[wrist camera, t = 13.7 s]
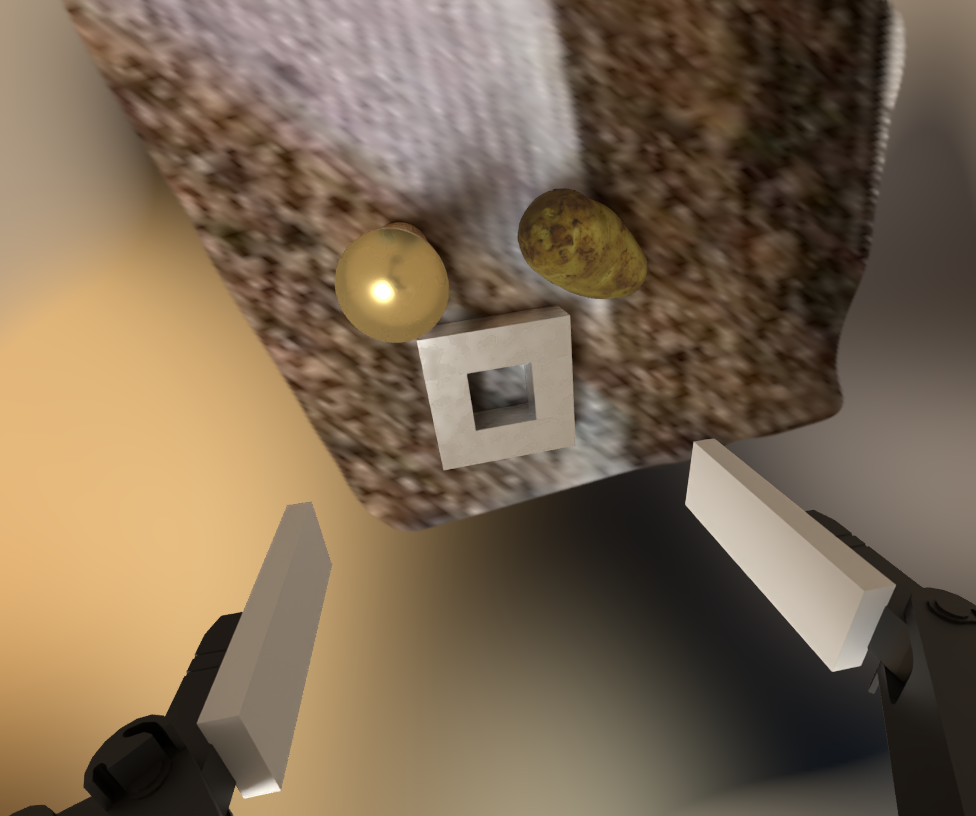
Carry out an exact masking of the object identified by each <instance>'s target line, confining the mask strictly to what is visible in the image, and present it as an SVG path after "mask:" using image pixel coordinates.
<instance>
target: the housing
mask: <svg viewBox="0 0 976 816" xmlns="http://www.w3.org/2000/svg"><path fill="white" fill-rule="evenodd" d="M417 344H418V349H419V354H420V359H421V363H422V368H423V373H424V378H425V383H426V387H427V392H428V397H429V402H430V407H431V411H432V416H433V421H434V426H435V431H436V435H437V440H438V445H439V450H440V455H441V459H442V464H443V469H444V470H447V469H453V468H458V467H463V466H469V465H474V464H479V463H485V462H490V461H495V460H501V459H506V458H511V457H517V456H522V455H527V454H533V453H538V452H543V451H549V450H554V449H559V448H565V447H570V446H575V421H574V397H573V373H572V349H571V325H570V315H569V314H568V313H567V312H565V311H564V310H563V309H562V308H561V307H559V306H558V305H555V306H549V307H543V308H537V309H530V310H524V311H518V312H512V313H506V314H500V315H494V316H488V317H482V318H476V319H470V320H463V321H457V322H451V323H445V324H439V325H435V326H434V327H433V328H432V329H431V330H430V331H429V332H427V333H426V334H424V335H422V336H421V337H419V338H417ZM520 364H524V369H525V379H526V390H527V400H528V403H523V404H518V405H512V406H507V407H501V408H495V409H490V410H484V411H479V412H473V410H472V404H471V397H470V391H469V385H468V379H467V374H468V373H474V372H479V371H485V370H491V369H497V368H503V367H508V366H514V365H520Z"/></svg>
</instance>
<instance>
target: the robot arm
mask: <svg viewBox="0 0 976 816" xmlns="http://www.w3.org/2000/svg"><path fill="white" fill-rule="evenodd" d="M685 505H686V506H687V507H688V508H689V509H690V510H691V512H692V513H693V514H694V515H695V516H696V517H697V518H698V520H699V521H700V522H701V523H702V524H703V525H704V526H705V527H706V529H707V530H708V531H709V532H710V533H711V534H712V535H713V537H714V538H715V539H716V540H717V541H718V542H719V543H720V545H721V546H722V547H723V548H724V549H725V550H726V551H727V552H728V554H729V555H730V556H731V557H732V558H733V559H734V560H735V562H736V563H737V564H738V565H739V566H740V567H741V568H742V570H743V571H744V572H745V573H746V574H747V575H748V576H749V577H750V579H751V580H752V581H753V582H754V583H755V584H756V585H757V587H758V588H759V589H760V590H761V591H762V592H763V593H764V595H765V596H766V597H767V598H768V599H769V600H770V601H771V603H772V604H773V605H774V606H775V607H776V608H777V609H778V610H779V612H780V613H781V614H782V615H783V616H784V617H785V618H786V619H787V621H788V622H789V623H790V624H791V625H792V626H793V628H794V629H795V630H796V631H797V632H798V633H799V634H800V635H801V637H802V638H803V639H804V640H805V641H806V642H807V643H808V645H809V646H810V647H811V648H812V649H813V650H814V651H815V652H816V654H817V655H818V656H819V657H820V658H821V659H822V660H823V662H824V663H825V664H826V665H827V666H828V667H829V668H830V670H831V671H833V672H834V671H838V670H843V669H847V668H852V667H857V666H861V664H862V661H863V659H864V657H865V655H866V652H867V650H868V649H869V650H870V651H871V652H872V653H873V654H874V655H875V656H876V657H877V658H878V659H879V660H880V663H879V665H878V667H877V669H876V671H875V674H874V676H873V678H872V680H871V682H870V685H869V690H868V692H870V693H873V694H874V693H875V691H876V689H877V686H879V687H880V693H881V700H882V706H883V714H884V720H885V728H886V734H887V740H888V747H889V755H890V761H891V768H892V774H893V782H894V788H895V795H896V802H897V809H898V815H899V816H976V606H975V605H974V604H973V603H971V602H969V601H968V600H966V599H964V598H962V597H960V596H958V595H955V594H953V593H950V592H948V591H945V590H940V589H935V588H923V587H921V586H920V585H918V584H917V583H916V582H915V581H913V580H912V579H911V578H909V577H908V576H907V575H905V574H904V573H903V572H902V571H900V570H899V569H898V568H896V567H895V566H894V565H892V564H891V563H890V562H889V561H887V560H886V559H885V558H883V557H882V556H881V555H879V554H878V553H877V552H876V551H874V550H873V549H872V548H870V547H869V546H868V547H867V546H866V545H865V543H864V542H863V541H861V540H860V539H859V538H857V537H856V536H852V534H851V532H849V531H848V530H847V529H846V528H844V527H843V526H842V525H840V524H839V523H838V522H836V521H835V520H833V519H831V518H829V517H827V516H825V515H823V514H821V513H819V512H817V511H815V510H810V511H804V510H802V509H801V508H800V507H798V506H797V505H796V504H795V503H794V502H792V501H791V500H790V499H789V498H787V497H786V496H785V495H784V494H782V493H781V492H780V491H779V490H777V489H776V488H775V487H773V485H771V484H770V483H769V482H768V481H766V480H765V479H764V478H763V477H761V476H760V475H759V474H758V473H756V472H755V471H754V470H753V469H751V468H750V467H749V466H748V465H746V464H745V463H744V462H743V461H741V460H740V459H739V458H738V457H736V456H735V455H734V454H733V453H732V452H730V451H729V450H728V449H726V448H725V447H724V446H723V445H722V444H720V443H719V442H718V441H717V440H715V439H708V440H702V441H696V442H694V445H693V452H692V459H691V467H690V474H689V482H688V489H687V496H686V503H685ZM331 566H332V563H331V561H330V557H329V554H328V551H327V548H326V545H325V542H324V539H323V536H322V533H321V529H320V526H319V523H318V520H317V517H316V514H315V511H314V508H313V504H312V502H306V503H299V504H293V505H287V507H286V510H285V512H284V514H283V517H282V519H281V522H280V524H279V526H278V529H277V531H276V534H275V536H274V538H273V541H272V543H271V546H270V548H269V551H268V553H267V555H266V558H265V560H264V563H263V565H262V567H261V570H260V572H259V575H258V577H257V580H256V582H255V584H254V587H253V589H252V591H251V594H250V596H249V599H248V601H247V603H246V606H245V608H244V611H243V612H240V613H234V614H228V615H223V616H221V617H220V618H219V619H218V620H217V621H216V622H215V623H214V624H213V626H212V627H211V628H210V629H209V630H208V631H207V633H206V634H205V635H204V637H203V639H202V641H201V643H200V645H199V647H198V649H197V651H196V654H195V659H193V660H192V662H191V664H190V666H189V668H188V670H187V675H186V676H184V678H183V680H182V682H181V684H180V687H179V689H178V691H177V693H176V695H175V697H174V699H173V701H172V703H171V705H170V708H169V710H168V712H167V714H166V716H165V717H164V716H162V715H148V716H145V717H142V718H138V719H136V720H134V721H133V722H131V723H129V724H127V725H125V726H124V727H122V728H120V729H119V730H118V731H117V732H116V733H115V734H114V735H112V736H111V737H110V738H109V739H107V740H106V741H105V742H104V744H103V745H102V746H101V747H100V748H99V750H98V751H97V752H96V753H95V755H94V756H93V757H92V759H91V761H90V763H89V765H88V768H87V770H86V772H85V775H84V788H85V789H86V790H87V791H88V793H89V794H90V795H91V797H89V798H87V799H85V800H83V801H81V802H79V803H77V804H75V805H73V806H72V807H69V808H67V809H65V810H63V811H62V812H60V813H58V814H55V813H54V812H53V811H52V810H51V809H50V808H48V807H47V806H45V805H35V806H29V807H27V808H24V809H22V810H20V811H17V812H15V813H13V814H12V815H10V816H233V814H232V812H231V811H230V809H229V805H230V801H231V798H232V795H233V792H234V788H235V785H236V786H237V788H238V790H239V791H240V793H241V794H242V796H243V798H249V797H254V796H258V795H263V794H267V793H272V792H277V791H281V788H282V783H283V779H284V774H285V770H286V766H287V761H288V757H289V752H290V748H291V743H292V739H293V734H294V730H295V726H296V721H297V717H298V712H299V708H300V704H301V699H302V695H303V690H304V686H305V681H306V677H307V673H308V668H309V664H310V659H311V655H312V651H313V646H314V641H315V637H316V633H317V628H318V624H319V620H320V615H321V611H322V606H323V602H324V597H325V593H326V589H327V584H328V580H329V575H330V571H331Z"/></svg>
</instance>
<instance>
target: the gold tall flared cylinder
mask: <svg viewBox="0 0 976 816" xmlns="http://www.w3.org/2000/svg"><path fill="white" fill-rule="evenodd" d="M335 290H336V295H337V299H338V302H339V305H340V307H341V309H342V311H343V312H344V314H345V315H346V317H347V318H348V319H349V321H350V322H351V323H352V324H353V325H354V326H355V327H356V328H357V329H359V330H360V331H361V332H363V333H364V334H366V335H368V336H370V337H372V338H375V339H377V340H381V341H385V342H406V341H410V340H413V339H416V338H419V337H421V336H422V335H424V334H426V333H427V332H429V331H430V330H431V329H432V328H433V327H434V326H435V325H436V324H437V323H438V321H439V320H440V318H441V317H442V315H443V313H444V311H445V309H446V306H447V302H448V296H449V283H448V277H447V273H446V270H445V267H444V264H443V262H442V260H441V258H440V256H439V255H438V253H437V252H436V251H435V249H434V248H433V247H432V246H431V245H430V244H429V243H428V241H427V239H426V237H425V236H424V234H423V233H422V232H421V231H420V230H419V229H418V228H416V227H415V226H413V225H411V224H408V223H405V222H395V223H391V224H388V225H386V226H385V227H383V228H379V229H375V230H372V231H369V232H367V233H365V234H363V235H361V236H360V237H358V238H357V239H356V240H354V241H353V242H352V243H351V244H350V245H349V246H348V247H347V249H346V250H345V251H344V253H343V254H342V256H341V258H340V260H339V263H338V266H337V269H336V274H335Z"/></svg>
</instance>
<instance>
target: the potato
mask: <svg viewBox="0 0 976 816" xmlns="http://www.w3.org/2000/svg"><path fill="white" fill-rule="evenodd" d="M518 242H519V245H520V249H521V252H522V254H523V256H524V258H525V260H526V262H527V263H528V264H529V266H530V267H531V268H532V269H533V270H534V271H536V272H537V273H538V274H540V275H541V276H542V277H544V278H545V279H547V280H548V281H550V282H551V283H553V284H555V285H557V286H560V287H562V288H563V289H565V290H567V291H569V292H572V293H575V294H578V295H581V296H584V297H588V298H594V299H609V298H619V297H624V296H628V295H630V294H632V293H634V292H636V291H637V290H638V289H639V288H640V287H641V286H642V284H643V282H644V280H645V278H646V276H647V272H648V263H647V259H646V256H645V254H644V252H643V251H642V249H641V248H640V246H639V244H638V243H637V241H636V240H635V239H634V237H633V236H632V235H631V233H630V232H629V231H628V229H627V228H626V226H625V225H624V223H623V220H622V219H621V218H619V217H618V216H617V215H616V214H615V213H614V212H613V211H612V210H611V209H609V208H608V207H607V206H605V205H604V204H602V203H600V202H597V201H595V200H593V199H590V198H588V197H586V196H584V195H582V194H581V193H579V192H576V191H575V190H571V189H554V190H552V191H548V192H546V193H544V194H542V195H540V196H539V197H538V198H536V199H535V200H534V201H533V202H532V203H531V204H530V206H529V207H528V208H527V210H526V211H525V213H524V215H523V216H522V218H521V221H520V224H519V231H518Z"/></svg>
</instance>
